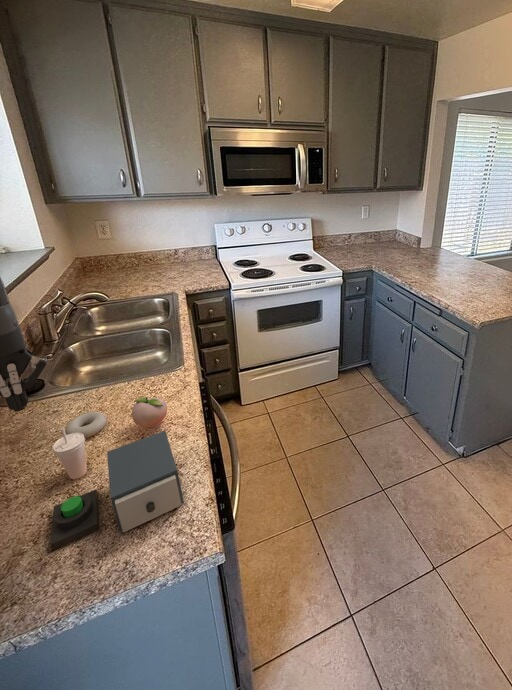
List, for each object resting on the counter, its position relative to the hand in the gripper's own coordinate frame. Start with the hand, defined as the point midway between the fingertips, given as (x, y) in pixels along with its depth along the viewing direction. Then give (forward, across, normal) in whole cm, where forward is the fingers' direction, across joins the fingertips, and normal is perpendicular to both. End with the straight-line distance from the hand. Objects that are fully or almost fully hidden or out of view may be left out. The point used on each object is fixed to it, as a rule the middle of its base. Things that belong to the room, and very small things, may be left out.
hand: (20, 408), depth 70 cm
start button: (+24, -4, +6) cm, 25 cm away
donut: (+27, -6, -26) cm, 38 cm away
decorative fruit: (+27, -22, -17) cm, 39 cm away
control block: (+27, -4, +6) cm, 28 cm away
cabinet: (+27, -18, +7) cm, 33 cm away
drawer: (+26, -18, +9) cm, 33 cm away
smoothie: (+27, -4, -9) cm, 29 cm away
